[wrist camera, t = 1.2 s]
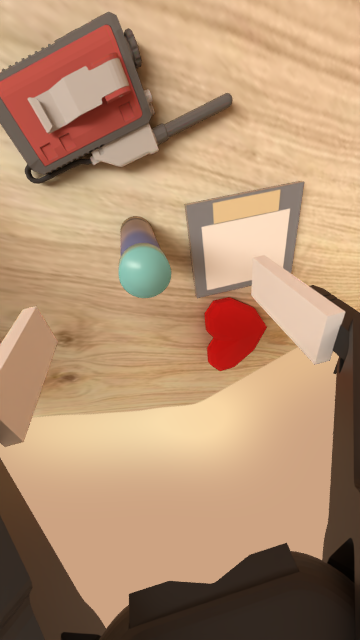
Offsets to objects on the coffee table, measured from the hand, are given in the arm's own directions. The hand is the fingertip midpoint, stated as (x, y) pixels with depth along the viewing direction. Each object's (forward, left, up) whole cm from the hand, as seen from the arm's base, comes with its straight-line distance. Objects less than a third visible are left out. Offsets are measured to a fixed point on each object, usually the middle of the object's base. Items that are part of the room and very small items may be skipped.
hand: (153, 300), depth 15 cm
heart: (+11, -17, -16) cm, 26 cm away
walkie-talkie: (+1, +11, -17) cm, 20 cm away
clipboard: (+13, -4, -16) cm, 21 cm away
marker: (0, 0, -16) cm, 16 cm away
